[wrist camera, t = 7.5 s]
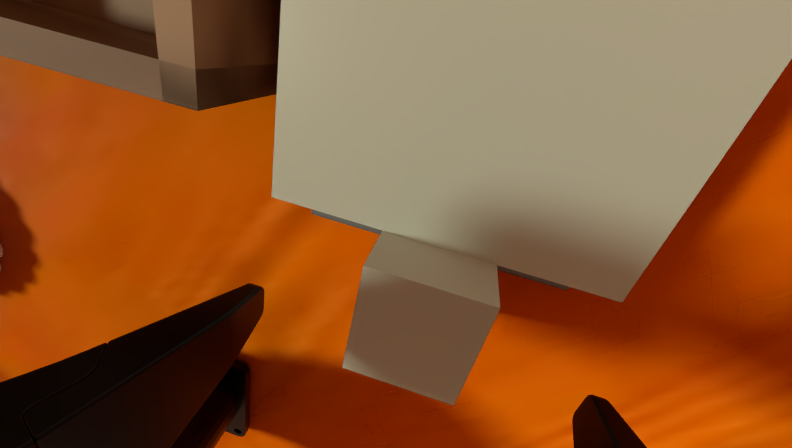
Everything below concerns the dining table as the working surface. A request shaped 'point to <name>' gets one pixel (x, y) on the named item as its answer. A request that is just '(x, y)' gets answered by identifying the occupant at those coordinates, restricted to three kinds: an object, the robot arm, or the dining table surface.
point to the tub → (152, 45)
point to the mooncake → (1, 253)
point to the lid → (506, 148)
